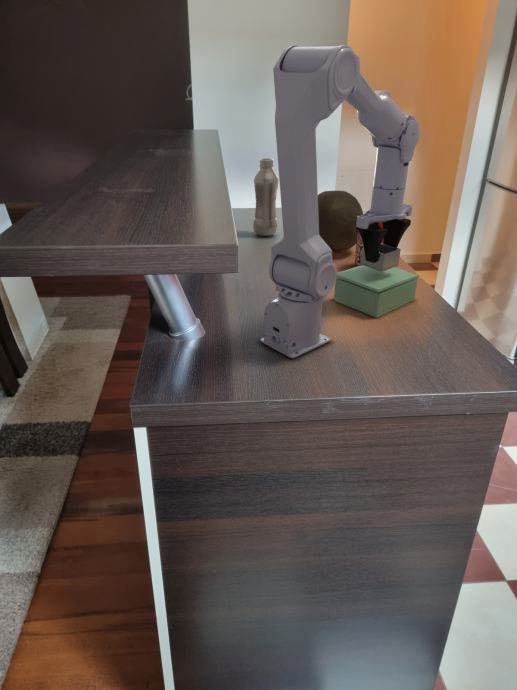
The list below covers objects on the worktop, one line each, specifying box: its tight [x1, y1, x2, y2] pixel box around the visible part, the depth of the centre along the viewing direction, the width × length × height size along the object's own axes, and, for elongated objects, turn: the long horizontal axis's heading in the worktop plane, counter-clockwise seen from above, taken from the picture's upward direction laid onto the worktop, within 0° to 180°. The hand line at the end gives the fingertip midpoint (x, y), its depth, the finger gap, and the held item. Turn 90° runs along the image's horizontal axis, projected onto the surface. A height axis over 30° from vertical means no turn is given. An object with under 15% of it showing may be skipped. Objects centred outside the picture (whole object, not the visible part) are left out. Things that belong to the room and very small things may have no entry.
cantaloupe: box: [318, 190, 364, 253], centre depth 127 cm, size 14×14×15 cm
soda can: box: [354, 223, 384, 267], centre depth 117 cm, size 7×7×12 cm
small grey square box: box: [361, 243, 401, 272], centre depth 100 cm, size 5×5×3 cm
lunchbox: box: [333, 277, 419, 318], centre depth 103 cm, size 13×11×5 cm
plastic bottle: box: [252, 157, 280, 237], centre depth 137 cm, size 6×7×20 cm
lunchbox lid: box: [336, 265, 419, 292], centre depth 101 cm, size 13×11×1 cm
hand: (379, 258), depth 100 cm, fingers closed on small grey square box, 5 cm apart
